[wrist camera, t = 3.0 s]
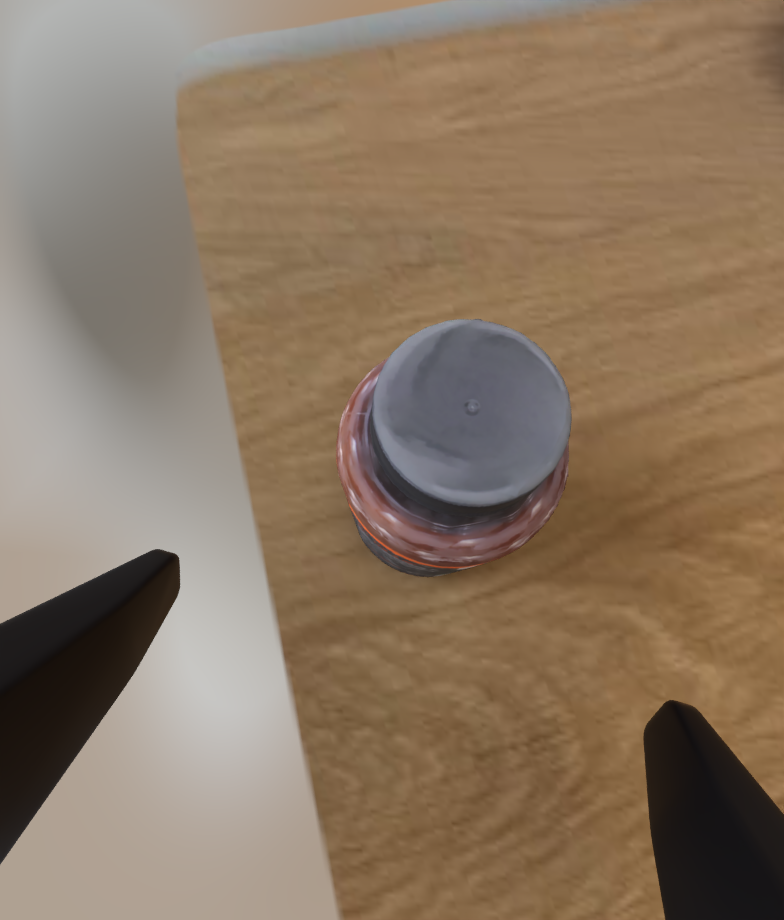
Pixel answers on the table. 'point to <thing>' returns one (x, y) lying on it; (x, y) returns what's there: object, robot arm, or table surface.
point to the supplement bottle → (455, 447)
